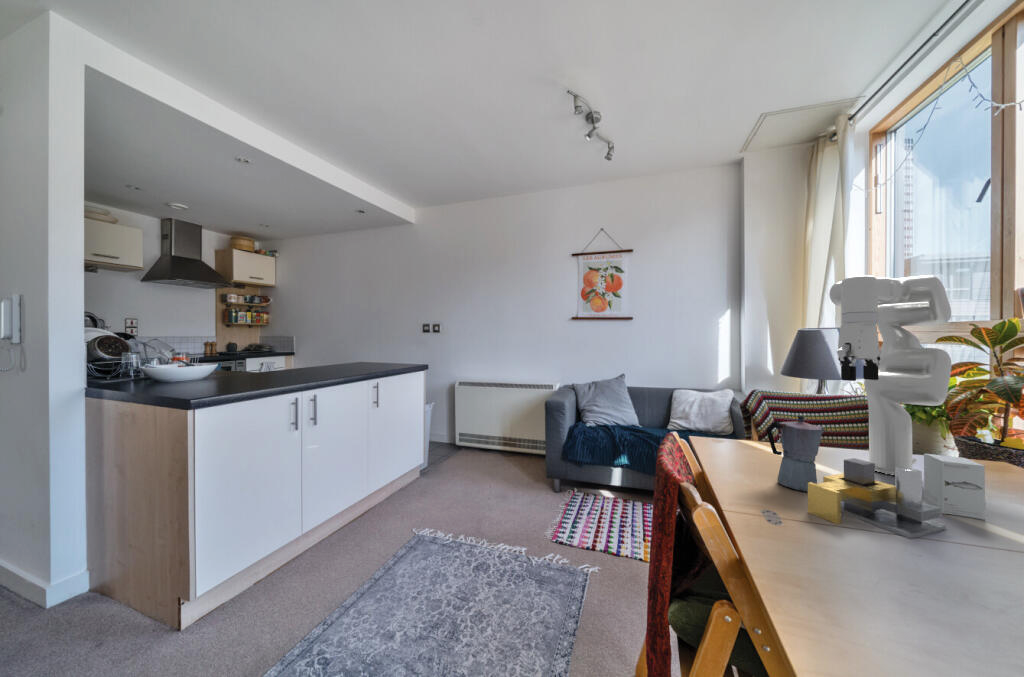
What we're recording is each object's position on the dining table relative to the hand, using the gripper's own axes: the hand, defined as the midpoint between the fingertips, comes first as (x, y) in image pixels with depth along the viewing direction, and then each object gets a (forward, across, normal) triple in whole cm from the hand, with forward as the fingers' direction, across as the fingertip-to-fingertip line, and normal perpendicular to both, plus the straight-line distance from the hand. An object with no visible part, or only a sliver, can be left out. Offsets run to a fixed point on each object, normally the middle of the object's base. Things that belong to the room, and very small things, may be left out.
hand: (859, 380), depth 101 cm
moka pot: (+31, +17, -6) cm, 35 cm away
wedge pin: (+30, +18, +9) cm, 36 cm away
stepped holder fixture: (+30, +21, +12) cm, 39 cm away
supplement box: (+31, -4, +16) cm, 35 cm away
